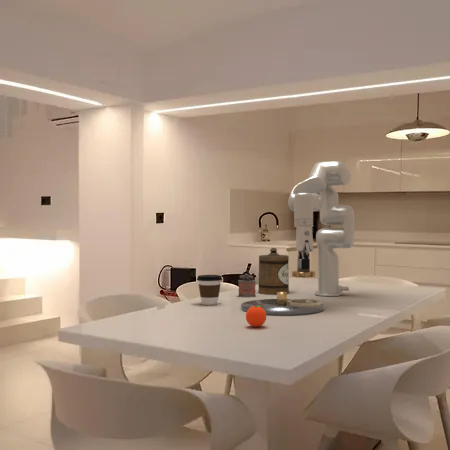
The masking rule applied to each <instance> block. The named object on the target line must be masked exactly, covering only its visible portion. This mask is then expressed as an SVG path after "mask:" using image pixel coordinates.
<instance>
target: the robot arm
mask: <svg viewBox="0 0 450 450" xmlns="http://www.w3.org/2000/svg"><path fill="white" fill-rule="evenodd" d="M351 176H352V175H351V170H350V168H348V166H347V165H346V164H345V163H344V162H342V161H340V160H333V161H331V160H330V161H318V162H316V163H315V164H314V165H313V166H312V168H311V171H310V173H309V175H308V177H307V179H304V180H302V181H301V182H299V183H297V184H296V185H295V186H294V187H293V188H292V189H291V191H290V193H289V196H288V200H287V205H288V208H289V209H290V210H291V211H292V212H293V216H294V218H293V220H294V222H293V223H294V224H293V225H294V228H296V232H295V233H296V234H295V249H296V251H298V252H297V259H301V269H310V270H311V262H310V261H311V258H310V257H311V256H310V253H311V252H313V251H314V240H313V239H314V237H313V227H314V212H317V211H319V220H320V221H319V222H320V223H321V224H323V225H324V226H343V227H323V228H320V229H318V230H317V231H316V234H315V240H316V245H317V261H318V263H317V264H318V267H317V269H318V270H317V276H318V278H317V281H318V282H317V285H318V287H317V291H315V292H314V295H315V296H321V297H338V296H342V295H343V291H345V292H346V291H349V290H350V287H349V286H341V285H340V283H339V280H340V279H339V278H340V277H339V276H340V275H339V268H340V266H339V264H340V262H339V261H340V260H339V256H338V253H336V251H335V250H334V249H351V248H352V247H353V246H354V244H355V212H354V208H353V207H352V206H350V205H348V204H339V193H338V192H337V190H336V188H334V187H333V186H347V185H349V183H350V182H351V178H352V177H351Z"/></svg>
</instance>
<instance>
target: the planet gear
mask: <svg viewBox="0 0 450 450" xmlns="http://www.w3.org/2000/svg"><path fill="white" fill-rule="evenodd" d="M296 265H297V267H296V270H293V271H291V277H292V278H305V279H306V278H308V279H309V278H315V277H316V271H314V270H313V271H312V270H311V268H310V269H301V259H298V258H297V264H296Z"/></svg>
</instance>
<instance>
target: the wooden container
mask: <svg viewBox="0 0 450 450" xmlns="http://www.w3.org/2000/svg"><path fill="white" fill-rule="evenodd" d="M269 251H270V253H268V254H264V255H263V254H261V255H258V293H259V294H261V295H275V296H277V292H287V294H289V291H290V290H289V288H290V287H289V286H290V285H289V284H290V275H289V274H290V272H289V271H290V270H289V269H290V268H289V266H290V265H289V264H290V263H289V262H290V261H289V260H290V259H289V257H290V256H289V255H285V254H279V253H278V249H277V248H276V247H271V248H269Z"/></svg>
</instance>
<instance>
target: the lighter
mask: <svg viewBox="0 0 450 450" xmlns="http://www.w3.org/2000/svg"><path fill="white" fill-rule="evenodd" d="M256 283H257V281H256V280H255V279H254V276H253V275H249V274H247V275H242V274H241V275H239V279H238V295H237V296H238V298H255V297H256Z"/></svg>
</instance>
